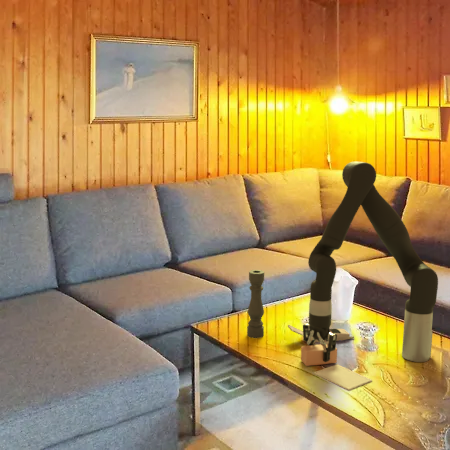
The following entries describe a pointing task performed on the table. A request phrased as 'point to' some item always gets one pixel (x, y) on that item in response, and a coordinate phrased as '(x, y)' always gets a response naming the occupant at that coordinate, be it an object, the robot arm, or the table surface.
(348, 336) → the mobile phone
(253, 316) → the candle holder
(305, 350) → the card box
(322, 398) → the table surface
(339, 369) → the beige flat plate
